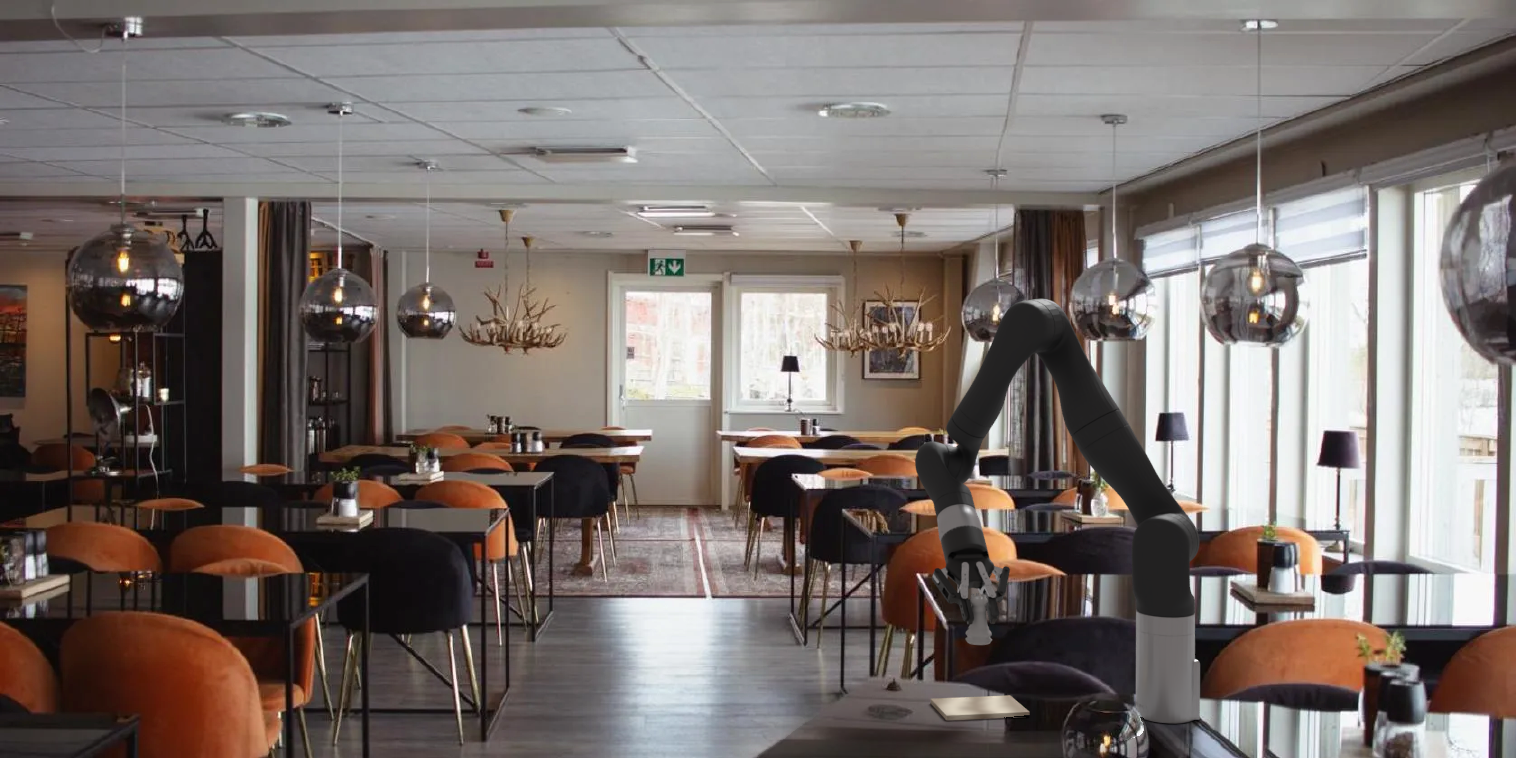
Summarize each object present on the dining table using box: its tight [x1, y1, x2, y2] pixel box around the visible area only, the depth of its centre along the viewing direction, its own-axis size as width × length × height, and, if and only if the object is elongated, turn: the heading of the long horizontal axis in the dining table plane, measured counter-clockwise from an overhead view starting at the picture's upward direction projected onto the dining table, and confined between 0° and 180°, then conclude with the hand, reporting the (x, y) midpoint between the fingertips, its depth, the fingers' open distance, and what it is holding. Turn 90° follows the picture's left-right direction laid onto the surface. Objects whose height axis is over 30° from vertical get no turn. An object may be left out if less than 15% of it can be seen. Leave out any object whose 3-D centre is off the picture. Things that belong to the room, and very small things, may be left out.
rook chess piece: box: [965, 592, 993, 646], centre depth 217 cm, size 4×4×8 cm
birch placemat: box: [930, 695, 1030, 721], centre depth 217 cm, size 14×10×1 cm
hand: (982, 621), depth 215 cm, fingers closed on rook chess piece, 3 cm apart
